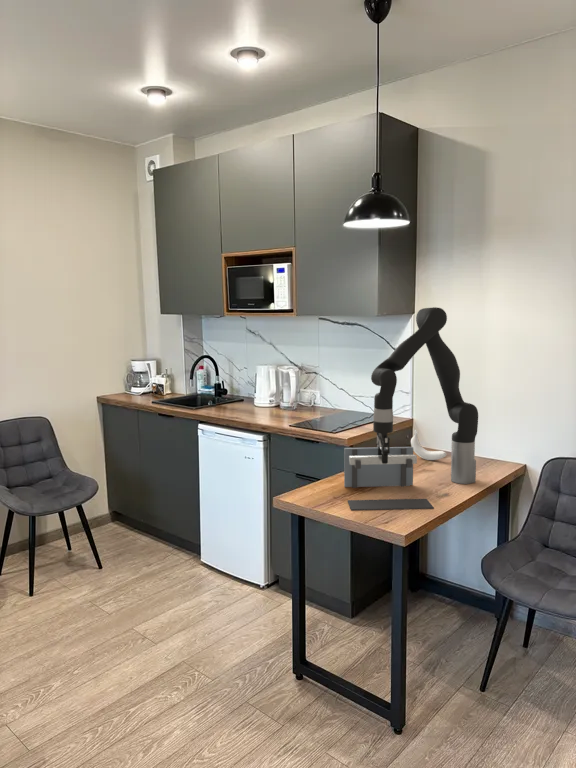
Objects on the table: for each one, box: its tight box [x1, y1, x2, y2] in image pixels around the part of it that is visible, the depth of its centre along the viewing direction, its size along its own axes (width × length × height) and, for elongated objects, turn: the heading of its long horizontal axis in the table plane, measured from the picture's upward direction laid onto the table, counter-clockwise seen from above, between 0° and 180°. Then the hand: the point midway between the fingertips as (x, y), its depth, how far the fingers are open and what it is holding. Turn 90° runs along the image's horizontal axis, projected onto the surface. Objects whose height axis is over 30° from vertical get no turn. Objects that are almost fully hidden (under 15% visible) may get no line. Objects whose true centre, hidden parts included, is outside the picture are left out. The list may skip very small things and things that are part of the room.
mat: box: [347, 498, 435, 511], centre depth 212 cm, size 30×10×1 cm, turn 91°
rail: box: [349, 454, 418, 465], centre depth 224 cm, size 26×2×3 cm, turn 91°
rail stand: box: [343, 446, 414, 489], centre depth 228 cm, size 28×13×16 cm, turn 91°
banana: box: [410, 429, 447, 461], centre depth 274 cm, size 5×19×15 cm, turn 50°
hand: (382, 460), depth 224 cm, fingers open, 8 cm apart
